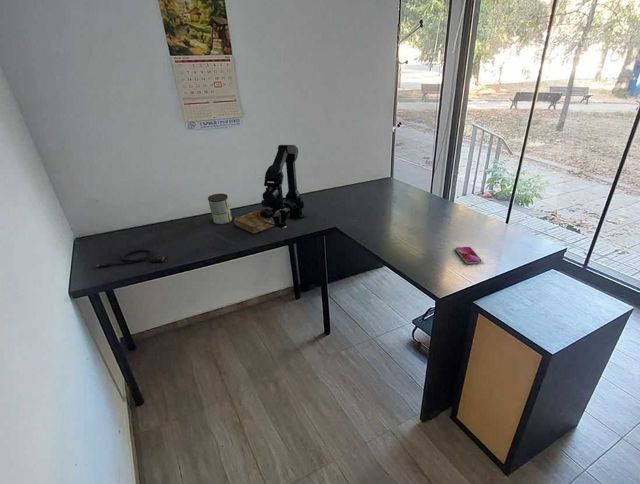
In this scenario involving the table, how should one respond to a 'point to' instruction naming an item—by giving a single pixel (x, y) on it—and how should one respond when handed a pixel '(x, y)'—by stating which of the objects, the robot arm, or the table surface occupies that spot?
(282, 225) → the tongs
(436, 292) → the table surface
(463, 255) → the smartphone
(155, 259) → the cable
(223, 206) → the coffee can
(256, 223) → the brown wooden tray
